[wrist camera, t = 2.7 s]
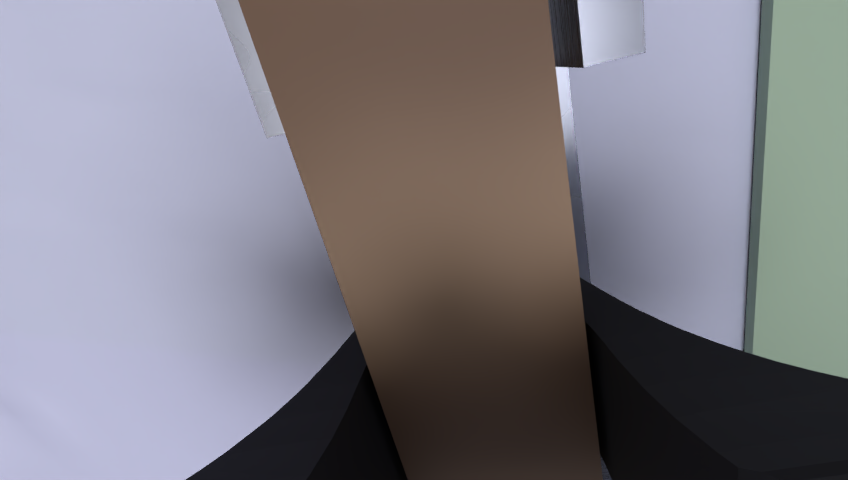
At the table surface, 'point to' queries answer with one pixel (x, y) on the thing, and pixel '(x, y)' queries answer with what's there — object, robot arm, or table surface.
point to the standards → (573, 47)
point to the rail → (444, 221)
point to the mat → (800, 188)
